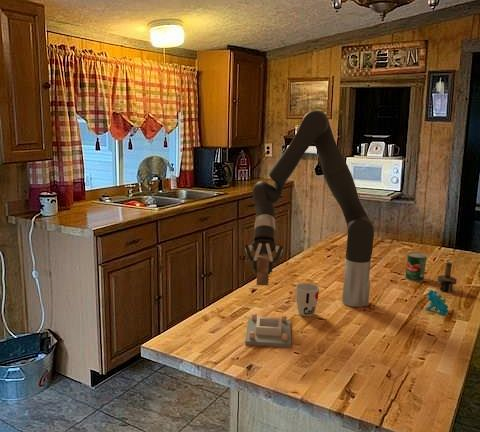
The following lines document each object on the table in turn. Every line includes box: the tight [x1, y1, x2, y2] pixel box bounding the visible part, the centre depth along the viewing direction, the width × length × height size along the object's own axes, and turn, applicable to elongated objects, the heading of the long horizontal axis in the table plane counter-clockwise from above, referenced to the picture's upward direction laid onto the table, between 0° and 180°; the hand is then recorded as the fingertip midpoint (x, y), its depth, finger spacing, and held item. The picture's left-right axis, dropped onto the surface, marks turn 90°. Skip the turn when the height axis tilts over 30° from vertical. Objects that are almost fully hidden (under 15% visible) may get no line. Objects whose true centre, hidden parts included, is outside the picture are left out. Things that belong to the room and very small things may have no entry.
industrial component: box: [437, 261, 457, 294], centre depth 205 cm, size 9×7×12 cm
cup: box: [295, 282, 320, 317], centre depth 176 cm, size 8×8×10 cm
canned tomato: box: [404, 251, 427, 283], centre depth 218 cm, size 8×8×11 cm
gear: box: [426, 289, 450, 316], centre depth 183 cm, size 11×6×10 cm
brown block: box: [256, 254, 270, 286], centre depth 172 cm, size 4×4×10 cm
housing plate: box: [244, 313, 292, 348], centre depth 160 cm, size 14×18×4 cm
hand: (262, 272), depth 170 cm, fingers closed on brown block, 4 cm apart
